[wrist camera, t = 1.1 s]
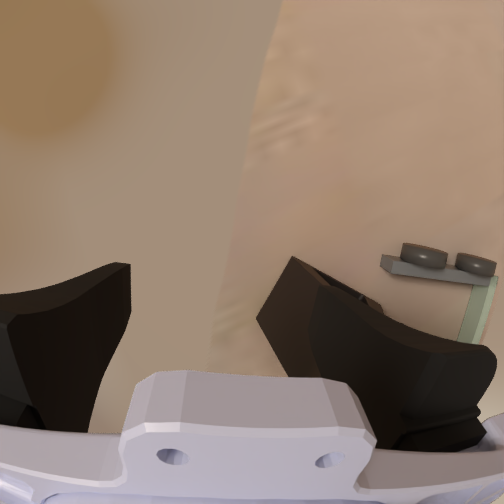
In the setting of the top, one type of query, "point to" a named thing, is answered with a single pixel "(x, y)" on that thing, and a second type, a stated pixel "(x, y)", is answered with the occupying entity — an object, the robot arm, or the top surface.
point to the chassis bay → (465, 271)
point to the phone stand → (297, 316)
